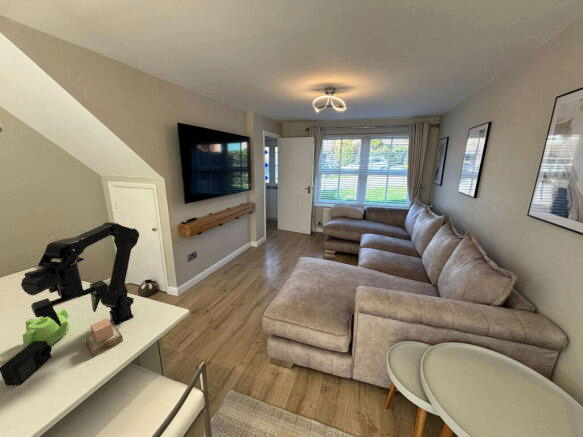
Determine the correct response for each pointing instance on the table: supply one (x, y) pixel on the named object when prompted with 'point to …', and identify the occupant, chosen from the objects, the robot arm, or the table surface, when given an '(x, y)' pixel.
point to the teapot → (46, 329)
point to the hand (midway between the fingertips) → (78, 318)
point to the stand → (103, 342)
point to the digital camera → (25, 363)
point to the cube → (102, 330)
